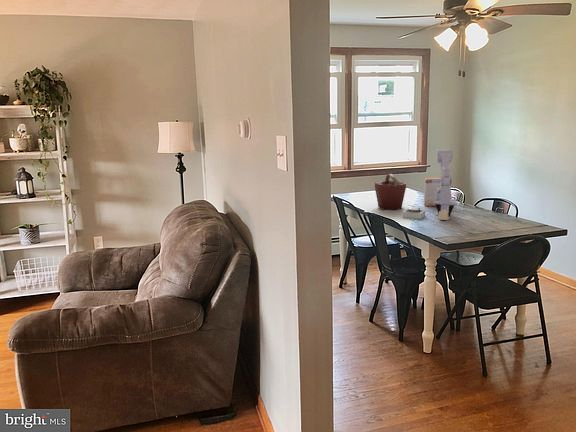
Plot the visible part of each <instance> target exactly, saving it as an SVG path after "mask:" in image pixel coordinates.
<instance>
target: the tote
mask: <svg viewBox="0 0 576 432" xmlns="http://www.w3.org/2000/svg"><path fill="white" fill-rule="evenodd" d="M409 209H410V208H407V209H404V210H403V211H402V218H404V219H413V218H416V219H415V220H422V219H423V218H425V217H426V210H425V209H420V213H415V212H408V211H409Z"/></svg>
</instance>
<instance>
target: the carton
mask: <svg viewBox="0 0 576 432" xmlns="http://www.w3.org/2000/svg"><path fill="white" fill-rule="evenodd" d="M448 214H449V210H443V209H442V210H440V211H439V215H438V220H442V221H443V220H444V221H448V220H449V219H450V218H451V216H450V217H448Z"/></svg>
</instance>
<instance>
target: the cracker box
mask: <svg viewBox="0 0 576 432" xmlns="http://www.w3.org/2000/svg"><path fill="white" fill-rule="evenodd" d="M440 182H441V177H424V182H423V184H424V185H423V186H424V187H423V188H424V189H423V206H424V207H436V205H433V202H434V201H436V190H437V189H438V188H440Z"/></svg>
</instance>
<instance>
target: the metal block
mask: <svg viewBox="0 0 576 432" xmlns="http://www.w3.org/2000/svg"><path fill="white" fill-rule="evenodd" d="M408 209H409V211H408V212H415V213H420V210H421V207H414V206H413V207H409V208H408Z"/></svg>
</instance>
